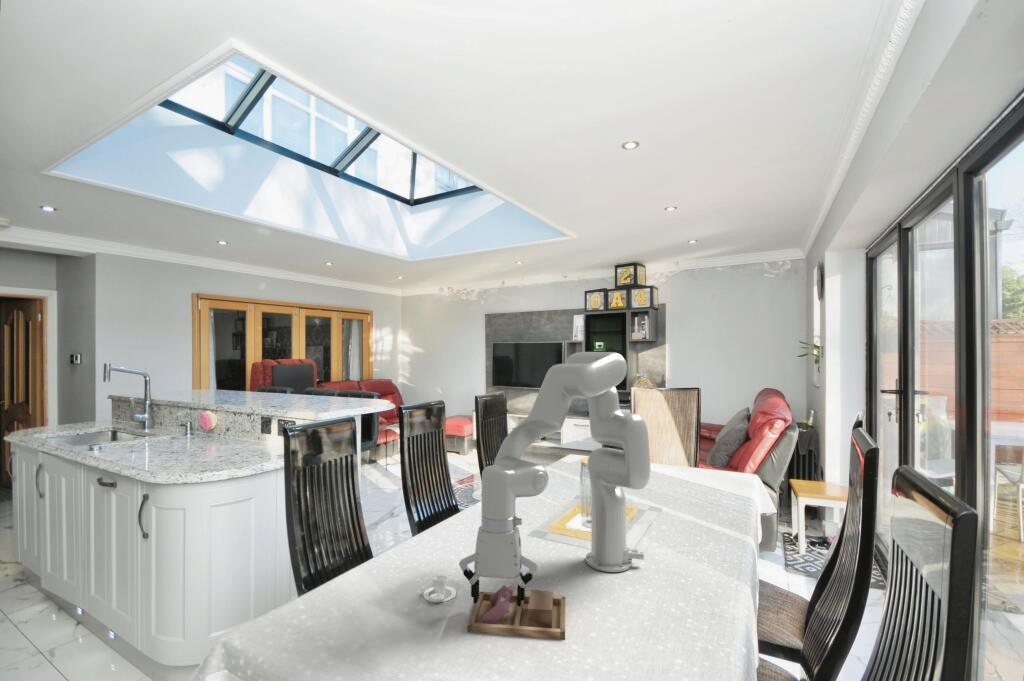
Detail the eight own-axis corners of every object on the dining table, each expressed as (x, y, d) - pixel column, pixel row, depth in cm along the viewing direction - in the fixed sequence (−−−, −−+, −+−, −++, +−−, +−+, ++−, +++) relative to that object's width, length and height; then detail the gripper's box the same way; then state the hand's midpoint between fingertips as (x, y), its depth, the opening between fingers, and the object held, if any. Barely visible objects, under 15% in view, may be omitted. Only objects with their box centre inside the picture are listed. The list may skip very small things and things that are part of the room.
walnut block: (552, 609, 105) (553, 591, 105) (551, 629, 97) (551, 610, 98) (530, 607, 106) (530, 589, 106) (527, 627, 98) (528, 608, 98)
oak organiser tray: (565, 604, 108) (565, 596, 108) (565, 641, 94) (565, 632, 94) (479, 599, 110) (480, 591, 110) (467, 633, 96) (467, 625, 96)
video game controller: (498, 635, 98) (513, 606, 97) (479, 623, 98) (494, 594, 98) (506, 610, 107) (519, 583, 107) (488, 599, 108) (502, 573, 108)
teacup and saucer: (439, 609, 107) (439, 591, 107) (413, 599, 111) (413, 582, 111) (463, 593, 114) (463, 576, 114) (438, 584, 118) (438, 568, 118)
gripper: (538, 518, 106) (538, 595, 106) (463, 515, 108) (462, 590, 108) (536, 531, 99) (535, 613, 98) (456, 527, 101) (455, 608, 100)
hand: (497, 601), depth 103 cm, fingers open, 9 cm apart
